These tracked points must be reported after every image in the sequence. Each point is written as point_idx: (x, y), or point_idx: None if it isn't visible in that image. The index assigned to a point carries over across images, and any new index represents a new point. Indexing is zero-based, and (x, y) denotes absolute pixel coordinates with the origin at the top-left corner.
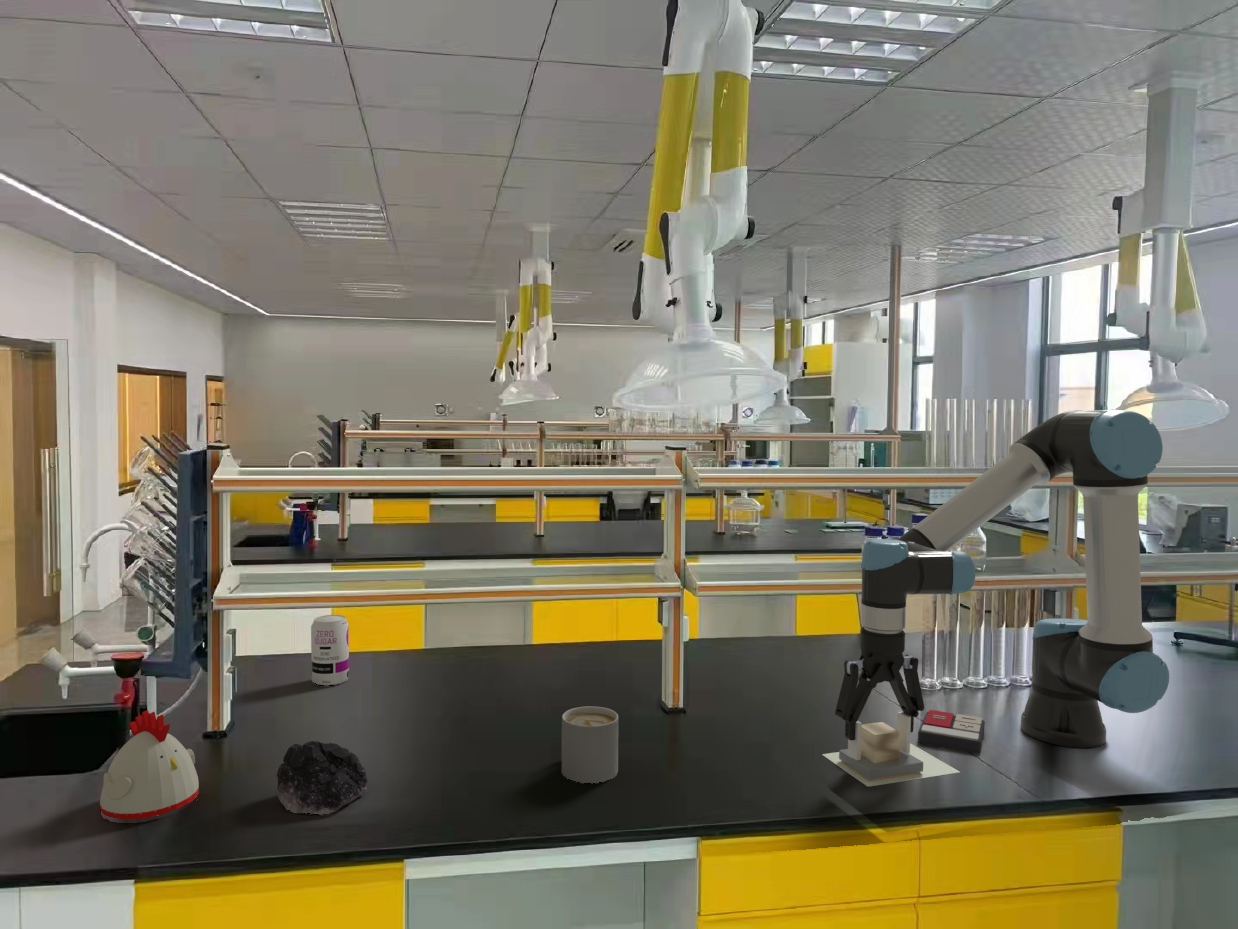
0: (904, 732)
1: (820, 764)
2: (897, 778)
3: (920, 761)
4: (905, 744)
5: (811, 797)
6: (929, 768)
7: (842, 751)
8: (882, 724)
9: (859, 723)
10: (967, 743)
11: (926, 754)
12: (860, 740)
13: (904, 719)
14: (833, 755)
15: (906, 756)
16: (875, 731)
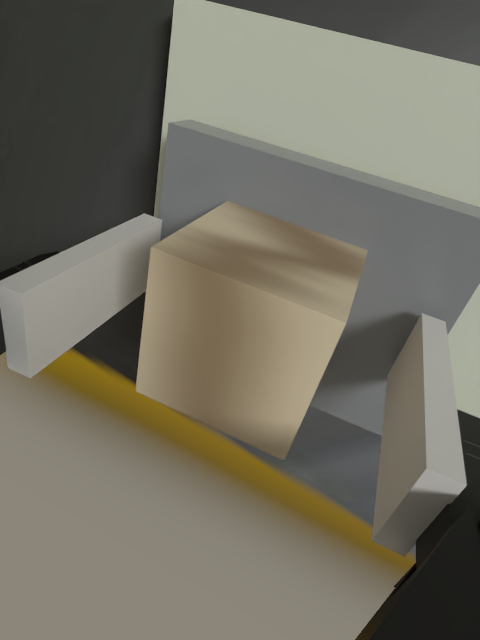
0: (391, 431)
1: (162, 34)
2: None
3: (382, 427)
4: (387, 396)
5: (8, 233)
6: (460, 406)
7: (170, 147)
8: (300, 348)
9: (17, 372)
10: None
11: None
12: (97, 323)
13: (385, 499)
14: (217, 44)
15: (384, 370)
16: (169, 372)
